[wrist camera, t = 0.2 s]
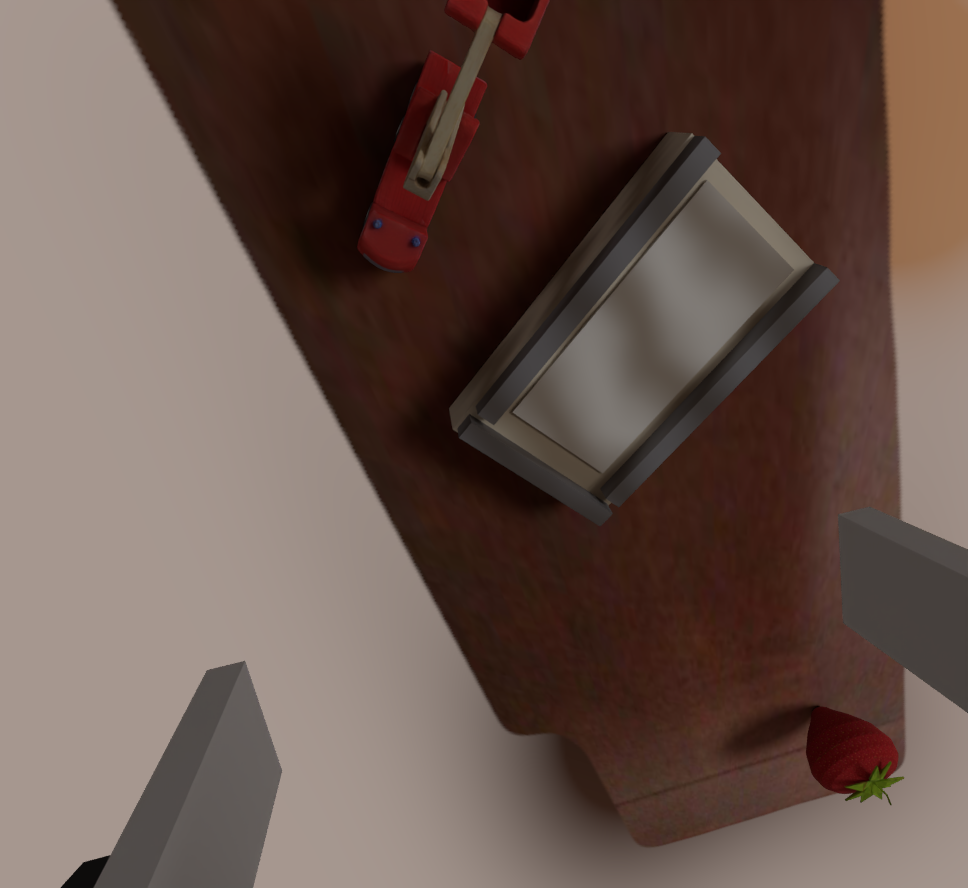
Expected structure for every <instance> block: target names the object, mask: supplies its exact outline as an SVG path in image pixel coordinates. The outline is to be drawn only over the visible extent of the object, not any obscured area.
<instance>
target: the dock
mask: <svg viewBox="0 0 968 888" xmlns="http://www.w3.org/2000/svg"><path fill="white" fill-rule="evenodd" d="M720 154H721V153H720V152H719V151H718V150H717V149H716V148H715V147H714V146H713V144H712V143H711V142H710V141H709V140H708V139H707V138H706V137H704V136H694V135H693V134H692V133H676V132H668V133H667V134H666V136H665V137H664V138H663V139H662V141H661V142H660V143H659V144H658V146H657V147H656V148H655V149H654V151H653V152H652V153H651V154H650V156H649V157H648V158H647V160H646V161H645V162H644V163H643V165H642V166H641V167H640V168H639V170H638V171H637V172H636V173H635V175H634V176H633V177H632V178H631V180H630V181H629V182H628V183H627V185H626V186H625V187H624V189H623V190H622V191H621V192H620V194H619V195H618V196H617V197H616V199H615V200H614V201H613V202H612V204H611V205H610V206H609V207H608V209H607V210H606V211H605V212H604V214H603V215H602V216H601V218H600V219H599V220H598V221H597V223H596V224H595V225H594V226H593V228H592V229H591V230H590V231H589V233H588V234H587V235H586V236H585V238H584V239H583V240H582V241H581V243H580V244H579V245H578V246H577V248H576V249H575V250H574V252H573V253H572V254H571V255H570V257H569V258H568V259H567V260H566V262H565V263H564V264H563V265H562V267H561V268H560V269H559V270H558V272H557V273H556V274H555V275H554V277H553V278H552V279H551V281H550V282H549V283H548V284H547V286H546V287H545V288H544V289H543V291H542V292H541V293H540V294H539V296H538V297H537V298H536V299H535V301H534V302H533V303H532V304H531V306H530V307H529V308H528V310H527V311H526V312H525V313H524V315H523V316H522V317H521V318H520V320H519V321H518V322H517V323H516V325H515V326H514V327H513V328H512V330H511V331H510V332H509V333H508V335H507V336H506V337H505V338H504V340H503V341H502V342H501V344H500V345H499V346H498V347H497V349H496V350H495V351H494V352H493V354H492V355H491V356H490V357H489V359H488V360H487V361H486V362H485V364H484V365H483V366H482V367H481V369H480V370H479V371H478V373H477V374H476V375H475V376H474V378H473V379H472V380H471V381H470V383H469V384H468V385H467V386H466V388H465V389H464V390H463V391H462V393H461V394H460V395H459V396H458V398H457V399H456V400H455V402H454V403H453V404H452V405H451V407H450V408H449V411H450V417H451V423H452V429H453V430H454V431H456V432H458V435H459V438H460V439H462V440H463V441H465V442H466V443H468V444H470V445H471V446H473V447H474V448H476V449H478V450H479V451H481V452H482V453H484V454H486V455H487V456H489V457H490V458H492V459H494V460H495V461H497V462H498V463H500V464H501V465H503V466H505V467H506V468H508V469H509V470H511V471H513V472H514V473H516V474H517V475H519V476H521V477H522V478H524V479H525V480H527V481H529V482H530V483H532V484H533V485H535V486H537V487H538V488H540V489H541V490H543V491H545V492H546V493H548V494H549V495H551V496H553V497H554V498H556V499H557V500H559V501H561V502H562V503H564V504H565V505H567V506H568V507H570V508H572V509H573V510H575V511H576V512H578V513H580V514H581V515H583V516H584V517H586V518H588V519H589V520H591V521H592V522H594V523H596V524H597V525H599V526H601V525H602V524H603V523H604V522H605V521H606V520H607V519H608V518H609V517H610V516H611V515H612V512H611V510H610V508H609V506H608V505H609V504H610V503H611V502H612V503H613V504H615V505H616V506H618V507H620V506H621V505H622V503H623V502H624V501H625V500H626V499H627V498H628V497H629V496H630V495H631V494H632V493H633V492H634V491H635V490H636V489H637V488H638V487H639V486H640V485H641V484H642V483H643V482H644V481H645V480H646V479H647V478H648V477H649V476H650V475H651V474H652V473H653V472H654V471H655V470H656V469H657V468H658V467H659V466H660V465H661V463H662V462H663V461H664V460H665V459H666V458H667V457H668V456H669V455H670V454H671V453H672V452H673V451H674V450H675V449H676V448H677V447H678V446H679V445H680V444H681V443H682V442H683V441H684V440H685V439H686V438H687V437H688V436H689V435H690V434H691V433H692V432H693V431H694V430H695V429H696V428H697V427H698V426H699V425H700V423H701V422H702V421H703V420H704V419H705V418H706V417H707V416H708V415H709V414H710V413H711V412H712V411H713V410H714V409H715V408H716V407H717V406H718V405H719V404H720V403H721V402H722V401H723V400H724V399H725V398H726V397H727V396H728V395H729V394H730V393H731V392H732V391H733V390H734V389H735V388H736V387H737V386H738V385H739V383H740V382H741V381H742V380H743V379H744V378H745V377H746V376H747V375H748V374H749V373H750V372H751V371H752V370H753V369H754V368H755V367H756V366H757V365H758V364H759V363H760V362H761V361H762V360H763V359H764V358H765V357H766V356H767V355H768V354H769V353H770V352H771V351H772V350H773V349H774V348H775V347H776V346H777V345H778V343H779V342H780V341H781V340H782V339H783V338H784V337H785V336H786V335H787V334H788V333H789V332H790V331H791V330H792V329H793V328H794V327H795V326H796V325H797V324H798V323H799V322H800V321H801V320H802V319H803V318H804V317H805V316H806V315H807V314H808V313H809V312H810V311H811V310H812V309H813V308H814V307H815V306H816V305H817V303H818V302H819V301H820V300H821V299H822V298H823V297H824V296H825V295H826V294H827V293H828V292H829V291H830V290H831V289H832V288H833V287H834V286H835V285H836V284H837V283H838V282H839V280H838V278H837V277H836V276H835V275H834V274H833V273H832V272H831V271H830V270H829V269H828V268H827V267H824V266H821V265H818V264H815V263H814V262H813V261H812V260H811V259H810V258H809V257H808V256H807V255H806V254H805V253H804V252H803V251H802V250H801V249H800V248H799V246H798V245H797V244H796V243H795V242H794V241H793V240H792V239H791V238H790V237H789V236H788V235H787V234H786V233H785V232H784V231H783V229H782V228H781V227H780V226H779V225H778V224H777V223H776V222H775V221H774V220H773V219H772V218H771V217H770V216H769V215H768V214H767V212H766V211H765V210H764V209H763V208H762V207H761V206H760V205H759V204H758V203H757V202H756V201H755V200H754V199H753V198H752V197H751V195H750V194H749V193H748V192H747V191H746V190H745V189H744V188H743V187H742V186H741V185H740V184H739V183H738V182H737V181H736V180H735V179H734V177H733V176H732V175H731V174H730V173H729V172H728V171H727V170H726V169H725V168H724V167H723V166H722V165H721V164H720V163H719V162H718V160H717V158H718V156H719V155H720Z"/></svg>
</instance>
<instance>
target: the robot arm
mask: <svg viewBox="0 0 968 888" xmlns="http://www.w3.org/2000/svg"><path fill="white" fill-rule="evenodd" d="M838 523H839V545H840V566H841V588H842V610H843V623H844V624H845V625H847V626H848V627H850V628H851V629H852V630H854V631H855V632H856V633H858V634H859V635H861V636H862V637H863V638H865V639H866V640H868V641H869V642H870V643H872V644H873V645H874V646H876V647H877V648H879V649H880V650H881V651H883V652H884V653H886V654H887V655H888V656H890V657H891V658H892V659H894V660H895V661H897V662H898V663H899V664H901V665H902V666H904V667H905V668H906V669H908V670H909V671H911V672H912V673H913V674H915V675H916V676H917V677H919V678H920V679H922V680H923V681H924V682H926V683H927V684H928V685H930V686H931V687H933V688H934V689H935V690H937V691H938V692H940V693H941V694H942V695H944V696H945V697H946V698H948V699H949V700H951V701H953V703H955V704H956V705H958V706H959V707H961V708H962V709H963V710H964V711H966V712H967V713H968V549H965V548H963V547H961V546H959V545H956V544H954V543H951V542H949V541H947V540H945V539H942V538H940V537H938V536H936V535H933V534H931V533H929V532H926V531H924V530H922V529H919V528H917V527H915V526H913V525H910V524H908V523H906V522H903V521H901V520H899V519H897V518H894V517H892V516H890V515H887V514H885V513H883V512H880V511H878V510H876V509H874V508H871V507H867V508H863V509H859V510H855V511H851V512H847V513H843V514H839V515H838ZM281 773H282V769H281V766H280V763H279V760H278V757H277V755H276V751H275V749H274V745H273V742H272V739H271V737H270V734H269V731H268V728H267V725H266V722H265V719H264V716H263V713H262V710H261V707H260V704H259V702H258V698H257V695H256V692H255V689H254V687H253V683H252V680H251V677H250V674H249V671H248V669H247V665H246V662H245V661H243V662H239V663H235V664H231V665H226V666H222V667H218V668H214V669H210V670H207V671H206V673H205V675H204V677H203V679H202V681H201V683H200V685H199V687H198V689H197V690H196V693H195V695H194V697H193V698H192V700H191V702H190V704H189V706H188V708H187V710H186V712H185V713H184V715H183V717H182V719H181V721H180V723H179V725H178V727H177V729H176V731H175V733H174V735H173V736H172V739H171V740H170V742H169V744H168V746H167V748H166V750H165V752H164V754H163V756H162V758H161V760H160V761H159V763H158V765H157V767H156V769H155V771H154V773H153V775H152V777H151V779H150V781H149V783H148V784H147V786H146V788H145V790H144V792H143V794H142V796H141V798H140V800H139V802H138V804H137V806H136V807H135V809H134V811H133V813H132V815H131V817H130V819H129V821H128V823H127V825H126V827H125V829H124V830H123V832H122V834H121V836H120V838H119V840H118V842H117V844H116V846H115V848H114V850H113V852H112V854H111V855H109V856H105V857H102V858H98V859H94V860H90V861H87V862H84V863H83V864H82V865H81V866H80V867H79V868H78V869H77V870H76V871H75V872H74V873H73V875H72V876H71V877H70V878H69V879H68V880H67V881H66V882H65V883H64V884H63V886H62V887H61V888H253V885H254V881H255V877H256V873H257V869H258V865H259V861H260V857H261V853H262V849H263V845H264V841H265V837H266V833H267V829H268V825H269V821H270V817H271V813H272V809H273V805H274V801H275V797H276V793H277V789H278V785H279V781H280V777H281Z"/></svg>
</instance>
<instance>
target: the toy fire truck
mask: <svg viewBox="0 0 968 888" xmlns="http://www.w3.org/2000/svg"><path fill="white" fill-rule="evenodd" d="M549 1H550V0H448V1H447V4H446V6H445V9H444V11H445V13H446V14H447V15H448V16H450V17H452V18H454V19H455V20H457V21H458V22H460V23H461V24H462V25H465V26H467V27H468V28H470V29H471V30H472V31H473V32H474V33H475V34H474V38H473V40H472V42H471V45H470V47H469V50H468V52H467V54H466V57H465V59H464V62H463V64H462V67H461V68H460V67H459V66H457V65H456V64H454V63H452V62H451V61H449V60H447V59H445V58H443V57H442V56H440V55H439V54H437V53H435V52H433V51H432V50H430V51H429V53H428V56H427V58H426V61H425V63H424V66H423V69H422V72H421V75H420V78H419V80H418V81H417V82H416V84H415V87H414V89H413V92H412V95H411V97H410V101H409V104H408V107H407V108H408V110H407V112H406V115H405V116H404V117H403V118H402V120H401V123H400V125H399V128H398V130H397V133H396V136H395V139H394V142H395V144H394V147H393V149H392V151H391V154H390V156H389V158H388V161H387V164H386V166H385V169H384V172H383V174H382V177H381V180H380V182H379V186H378V188H377V190H376V194H375V197H374V201H373V202H372V203H371V205H370V207H369V210H368V212H367V215H366V218H365V220H364V223H363V227H364V228H363V230H362V232H361V234H360V237H359V240H358V245H357V249H358V250H359V251H360V253H361V254H362V255H363V256H364V257H365V258H366V259H367V260H368V261H369V262H371V263H372V264H373V265H375V266H376V267H378V268H380V269H382V270H385V271H388V272H394V273H403V272H410V271H412V270H413V268H414V267H415V265H416V264H417V262H418V259H419V257H420V255H421V253H422V251H423V248H424V246H425V243H426V241H427V238H428V235H427V227H428V225H429V223H430V221H431V219H432V216H433V214H434V212H435V210H436V207H437V205H438V202H439V200H440V197H441V195H442V193H443V190H444V188H445V185H446V182H447V181H448V182H450V180H451V179H452V177H453V175H454V173H455V172H456V170H457V168H458V166H459V164H460V162H461V160H462V158H463V156H464V154H465V152H466V150H467V148H468V147H469V145H470V143H471V141H472V139H473V137H474V135H475V132H476V130H477V128H478V126H479V121H478V119H475V118H476V111H477V109H478V106H479V104H480V102H481V99H482V97H483V94H484V92H485V90H486V88H487V83H486V82H485V81H483V80H481V79H479V78H478V77H476V76H477V74H478V71H479V69H480V67H481V65H482V62H483V60H484V58H485V55H486V53H487V51H488V48H489V46H490V44H491V43H494V44H496V45H497V46H498V47H500V48H501V49H503V50H505V51H506V52H508V53H509V54H511V55H512V56H514V57H515V58H518V59H519V60H521V59H523V58H524V57H525V55H526V54H527V52H528V50H529V48H530V46H531V43H532V40H533V38H534V36H535V34H536V31H537V29H538V27H539V25H540V22H541V20H542V17H543V15H544V13H545V11H546V7H547V6H548V4H549Z"/></svg>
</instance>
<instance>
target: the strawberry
mask: <svg viewBox="0 0 968 888" xmlns="http://www.w3.org/2000/svg"><path fill="white" fill-rule="evenodd" d="M806 756H807V759H808V762H809V766H810V769H811V773H812V775H813V776H814V778H815V779H816V780H817V781H818V782H819V783H820V784H821V785H822V786H823V787H824V788H826V789H828V790H831V791H834V792H837V793H841V794H849V793H853V794H852V795H850V796H849V797H848V798H846V799H845V800H846V801H848V800H851V799H854V798H857V797H859V796H861V801H860V802H863V801H864V800H866V799H867V798H869V797H871V796H872V795H875V796H877V797H878V798H880V799H882V792H883V793H884V794H885V795H886V796H887V798H888V801H889V803H890V805H891V802H890V800H889V797H888V795H887V794H886V793H885V792H884V791H883V789H882V788H886V787H891V784H894V783H896V782H898V781H900V780H902V779H904V777H896V778H888V777H889V776H890V775H891V774H892V773H893V772H894V771H895V769H896V767H897V762H898V752H897V750H896V748H895V746H894V744H893V742H892V740H891V739H890V738H889V737H888V736H887V735H885V734H884V733H883V732H881V731H880V730H879V729H878V728H876V727H875V726H874V725H872V724H871V723H869V722H867V721H864V720H862V719H859V718H857V717H854V716H852V715H849V714H846V713H842V712H838V711H835V710H831V709H829V708H827V707H817V708H815V709H814V710H813V711H812V714H811V722H810V726H809V730H808V736H807V748H806ZM887 778H888V779H887Z"/></svg>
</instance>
